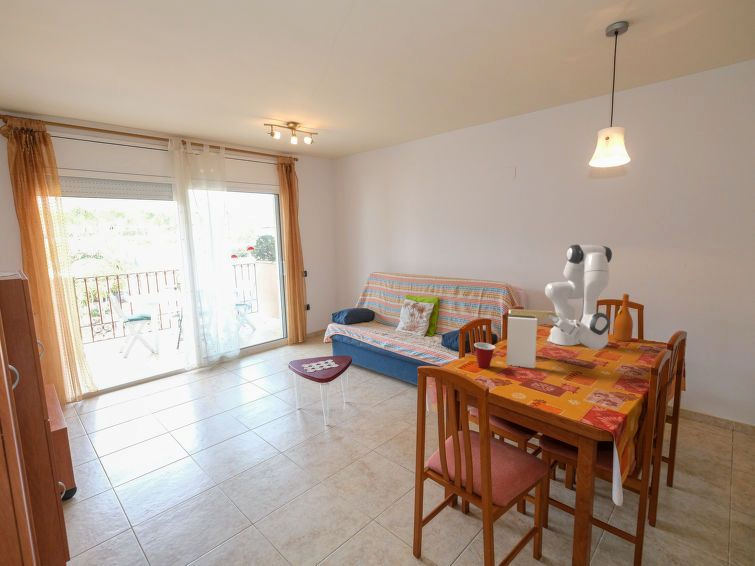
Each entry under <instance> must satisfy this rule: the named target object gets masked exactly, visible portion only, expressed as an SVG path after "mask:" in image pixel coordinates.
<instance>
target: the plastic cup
mask: <svg viewBox="0 0 755 566" xmlns="http://www.w3.org/2000/svg"><path fill="white" fill-rule="evenodd" d="M473 345H474V349H475V354H476V355H475V356H476V361H477V366H478V368H479V367H480V369H483V370H484V368H487V369H490V366H491V362H492V358H493V353H494V351H495V349H496V346H495V345H493V344H491V343H487V342H475V343H474V344H473Z"/></svg>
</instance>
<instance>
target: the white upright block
mask: <svg viewBox="0 0 755 566" xmlns="http://www.w3.org/2000/svg"><path fill="white" fill-rule="evenodd" d="M510 312H511V309H508V313H507V314H508V315H507V339H506V362H505V363H506V364H505V365H506V366H510V365H512V367H519V366H520V367H521V368H528V369H536V355H537V354H536V352H537V351H536V350H537V333H538V332H537V331H538V328H537V327H538V317H525V316H510Z"/></svg>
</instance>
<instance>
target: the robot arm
mask: <svg viewBox="0 0 755 566" xmlns="http://www.w3.org/2000/svg"><path fill="white" fill-rule="evenodd" d="M612 258H613V251H612V249H611V248H610V247H608V246H605V245H598V244H597V245H596V244H571V245H570V246H569V247H568V248H567V250H566V264H565V267H564V269H563V277H564V278H565V279H566V280H567V281H555V282H550V283H547V285H546V286H545V288H544V293H545V296H546V298H548V299H549V300H550V301H551V302H552V304H553V306H554V311H556V317H554V316H553V315H551V314H550V315H549V316H548V317H549V318H548V319H550V320H552V321H553V327H552V328H551V329H550V330H549V333H550V334H549V335H548V337H547V340H546V341H547V342H550V343H553V344H556V345H561V346H567V347H569V346H575V345H580V344H582V345H584V346H586V347H588V348H589V349H592V350H594V351H600V350H602V349H604V348H605V347H606V346H607V345H608V344H609V340H610V339H609V335H608V333H609V328H610V327H611V320H610V317H608V315H607V314H605V313H603V312H597V304H598V299H599V296H600V295H601V293H602V292H603V291H604V290H605V289H606V288H607V287H608V285H609V281H610V267H609V263H610V262H611V260H612ZM580 299H582V300H583V302H582V312H581V313H582V314H581V316H580V319H579V320H578V319H576V309H575V308H574V307H573V306H571V305H570V304H569V303H568V300H580ZM547 311H550V310H547Z"/></svg>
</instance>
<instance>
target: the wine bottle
mask: <svg viewBox="0 0 755 566" xmlns="http://www.w3.org/2000/svg"><path fill="white" fill-rule="evenodd" d="M629 297H630V295H629V294H628V293H623V294H622V300H621V301H622V306H621V308H619V310H618V311H617V315H616V317H615V321H614V324H613V339H614V340H616V341H619V340H620V342H630V341H632V338H633V329H634V322H633V318H632V315H631V313H630V311H629V310H630V309H629V301H630V298H629Z"/></svg>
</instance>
